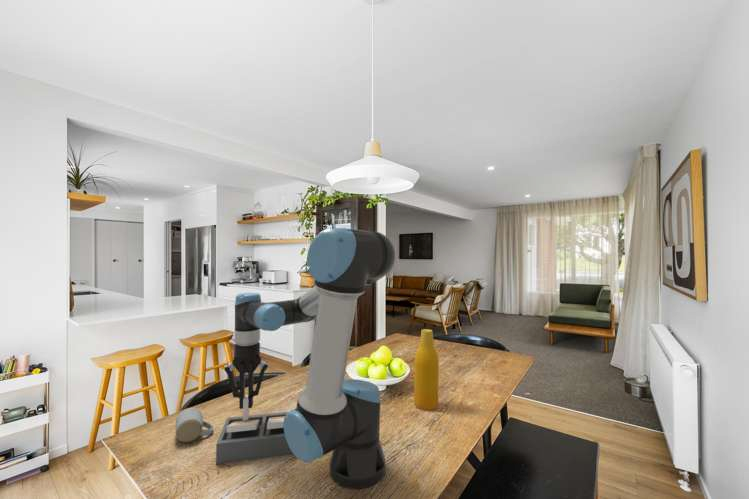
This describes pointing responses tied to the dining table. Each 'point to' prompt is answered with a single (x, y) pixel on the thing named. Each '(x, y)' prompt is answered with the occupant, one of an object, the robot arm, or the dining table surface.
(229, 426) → the breaker rocker
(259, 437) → the grey divided tray
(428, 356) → the beer bottle
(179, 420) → the ceramic mug
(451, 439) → the dining table surface
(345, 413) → the robot arm
